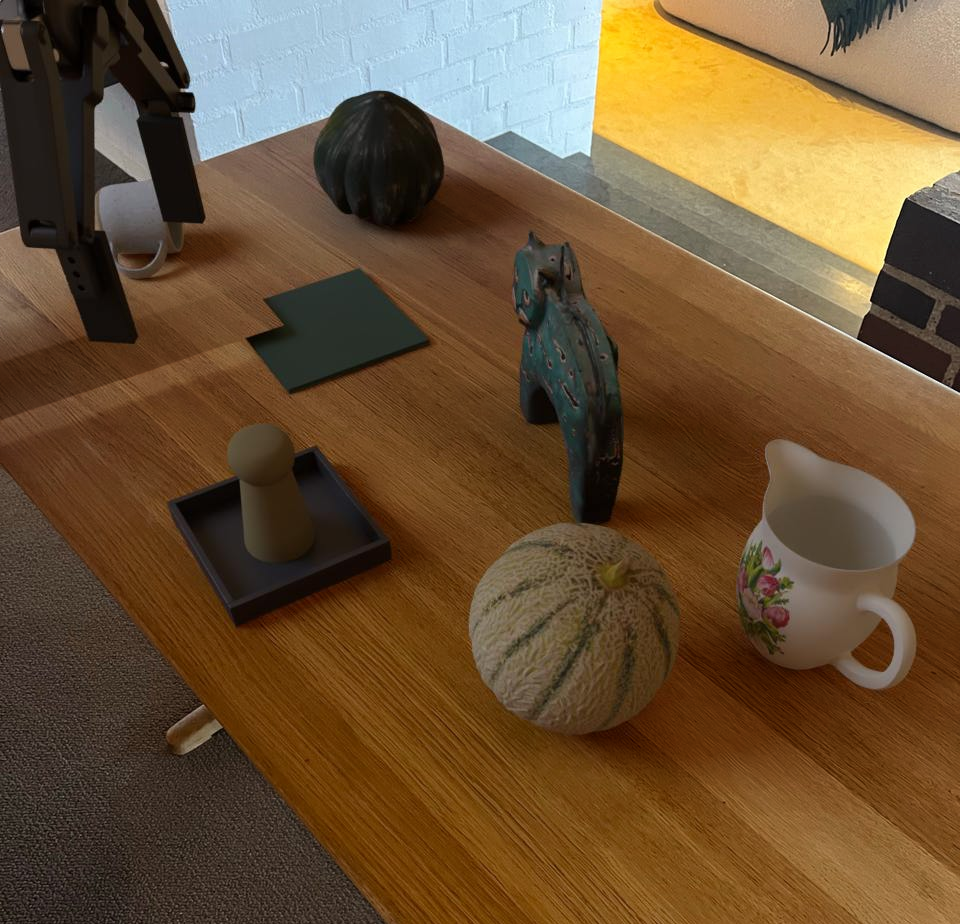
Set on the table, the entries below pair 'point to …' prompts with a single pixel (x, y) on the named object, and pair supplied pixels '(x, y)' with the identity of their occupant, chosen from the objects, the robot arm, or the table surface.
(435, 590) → the table surface
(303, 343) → the mat
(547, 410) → the ceramic cat
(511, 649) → the cantaloupe
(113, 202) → the ceramic mug
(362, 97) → the squash
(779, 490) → the pitcher
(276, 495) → the wooden peg doll
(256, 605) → the tray
